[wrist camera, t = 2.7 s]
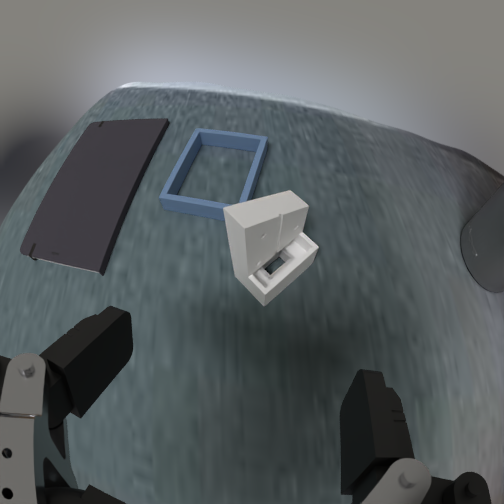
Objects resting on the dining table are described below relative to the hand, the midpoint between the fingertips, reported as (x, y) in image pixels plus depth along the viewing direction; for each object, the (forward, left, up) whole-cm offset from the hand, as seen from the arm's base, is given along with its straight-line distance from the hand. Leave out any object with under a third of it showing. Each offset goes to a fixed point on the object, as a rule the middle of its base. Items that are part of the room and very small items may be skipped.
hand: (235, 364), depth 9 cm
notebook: (+23, -15, -14) cm, 31 cm away
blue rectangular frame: (+8, -18, -13) cm, 24 cm away
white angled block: (0, -9, -14) cm, 17 cm away
